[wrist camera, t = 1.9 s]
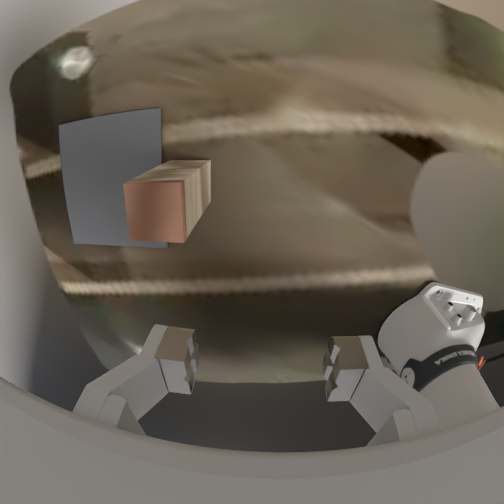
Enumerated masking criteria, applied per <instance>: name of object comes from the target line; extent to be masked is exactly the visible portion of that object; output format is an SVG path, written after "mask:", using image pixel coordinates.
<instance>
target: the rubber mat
mask: <svg viewBox="0 0 504 504" xmlns="http://www.w3.org/2000/svg"><path fill="white" fill-rule="evenodd" d="M59 143H60V156H61V167H62V176H63V184H64V191H65V198H66V204H67V210H68V216H69V221H70V226H71V231H72V236H73V240H74V243H75V244H93V245H111V246H129V247H148V248H166V249H168V242H152V241H131V240H130V236H129V229H128V222H127V215H126V206H125V197H124V188H123V184H124V183H126V182H128V181H130V180H132V179H134V178H136V177H138V176H139V175H141V174H143V173H145V172H147V171H149V170H151V169H153V168H155V167H157V166H159V165H161V164H162V133H161V108H154V109H145V110H137V111H130V112H123V113H116V114H110V115H104V116H99V117H94V118H89V119H84V120H79V121H75V122H70V123H66V124H62V125H59Z"/></svg>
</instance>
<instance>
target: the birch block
mask: <svg viewBox="0 0 504 504" xmlns="http://www.w3.org/2000/svg"><path fill="white" fill-rule="evenodd" d="M123 188H124V197H125V206H126V215H127V222H128V229H129V236H130V240H131V241H152V242H173V243H184V242H185V241H186V239H187V238H188V236H189V234H190V233H191V231H192V230H193V228H194V227H195V225H196V223H197V222H198V220H199V219H200V217H201V216H202V214H203V213H204V211H205V210H206V208H207V207H208V205H209V203H210V202H211V160H170V161H168V162H166V163H164V164H161V165H159V166H157V167H155V168H153V169H151V170H149V171H147V172H145V173H143V174H141V175H139V176H138V177H136V178H134V179H132V180H130V181H128V182H126V183H124V184H123Z"/></svg>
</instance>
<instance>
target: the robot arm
mask: <svg viewBox="0 0 504 504" xmlns="http://www.w3.org/2000/svg"><path fill="white" fill-rule="evenodd" d="M482 305H483V298H482V296H481V295H480V294H478V293H474V292H470V291H467V290H463V289H460V288H456V287H452V286H448V285H445V284H441V283H437V282H431V283H430V284H428V285H427V286H426V287H425V288H424V289H423V290H422V291H421V292H420V293H419V294H418V295H417V296H415V297H414V298H412V299H410V300H408V301H406V302H405V303H403V304H402V305H401V306H399V307H398V308H397V309H396V310H394V311H393V312H392V313H391V314H390V316H389V317H388V318H387V319H386V321H385V322H384V323H383V325H382V327H381V329H380V332H379V335H378V346H379V348H380V350H381V351H382V352H383V353H384V354H385V356H386V357H387V358H388V359H389V361H390V362H391V364H392V365H393V367H394V368H395V370H396V372H397V373H398V375H399V376H397V375H396V374H395V373H393V372H392V371H391V370H390V369H388V368H384V367H383V364H382V362H381V359H380V356H379V354H378V351H377V348H376V346H375V343H374V340H373V338H372V337H371V336H370V335H368V336H335V337H330V339H329V342H328V348H329V350H328V351H327V352H326V353H325V355H324V359H323V375H324V378H325V379H326V380H327V383H326V387H325V388H326V395H327V401H350V403H351V404H352V405H353V406H354V407H355V408H356V410H357V411H358V412H359V413H360V414H361V415H362V417H363V418H364V419H365V420H366V421H367V422H368V423H369V425H371V427H372V428H373V429H374V430H375V432H376V433H377V434H376V435H375V436H374V438H373V439H372V440H371V441H370V442H369V443H368V445H367V447H361V448H354V449H344V450H335V451H320V452H297V453H273V452H270V453H269V452H247V451H234V450H224V449H215V448H206V447H199V446H193V445H187V444H181V443H175V442H171V441H166V440H161V439H156V438H152V437H148V436H145V433H144V431H143V430H142V428H141V426H140V425H139V423H138V421H137V420H138V419H140V418H141V417H142V416H143V415H144V414H145V413H146V412H147V411H149V410H150V409H151V408H152V407H153V406H154V405H155V404H156V403H157V402H159V401H160V400H161V399H162V398H163V397H164V396H165V395H166V394H167V393H168V391H169V392H176V393H183V394H191V393H192V389H193V385H194V381H195V379H194V373H195V372H196V371H197V369H198V365H199V346H198V345H197V344H196V342H197V338H198V336H197V331H196V330H195V329H187V328H180V327H173V326H164V325H158V324H156V325H154V326H153V328H152V330H151V332H150V334H149V336H148V338H147V340H146V342H145V344H144V346H143V348H142V351H141V353H140V355H134V356H133V357H131V358H130V359H128V360H126V361H125V362H123V363H122V364H120V365H118V366H117V367H115V368H114V369H112V370H110V371H109V372H107V373H105V374H104V375H102V376H101V377H99V378H97V379H96V380H94V381H92V382H91V383H89V384H88V385H86V387H85V389H84V391H83V392H82V394H81V396H80V398H79V400H78V402H77V404H76V406H75V408H74V410H73V412H70V411H67V410H65V409H63V408H60V407H58V406H56V405H54V404H51V403H49V402H47V401H44V400H43V399H40V398H38V397H36V396H34V395H32V394H31V393H29V392H27V391H25V390H23V389H21V388H19V387H17V386H15V385H14V384H12V383H10V382H8V381H7V380H5V379H3V378H2V377H0V504H504V407H501V408H500V407H499V406H498V404H497V403H496V401H495V400H494V398H493V396H492V394H491V393H490V391H489V389H488V387H487V386H486V384H485V382H484V380H483V379H482V377H481V375H480V373H479V369H480V368H481V367H482V365H483V364H484V362H485V360H484V361H483V363H482V364H481V362H482V359H483V357H481V358H480V360H479V361H478V362H477V357H476V350H477V347H478V345H479V343H480V340H481V338H482V336H483V333H484V327H485V326H484V320H483V318H482V317H481V315H480V313H481V309H482ZM480 364H481V365H480Z"/></svg>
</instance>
